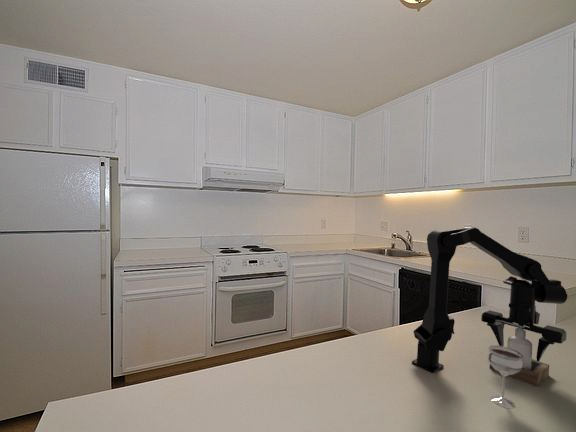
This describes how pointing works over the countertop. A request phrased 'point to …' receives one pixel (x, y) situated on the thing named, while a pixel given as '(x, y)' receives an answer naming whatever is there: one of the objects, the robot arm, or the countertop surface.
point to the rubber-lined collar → (532, 373)
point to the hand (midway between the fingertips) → (519, 354)
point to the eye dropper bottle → (521, 347)
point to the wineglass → (504, 369)
